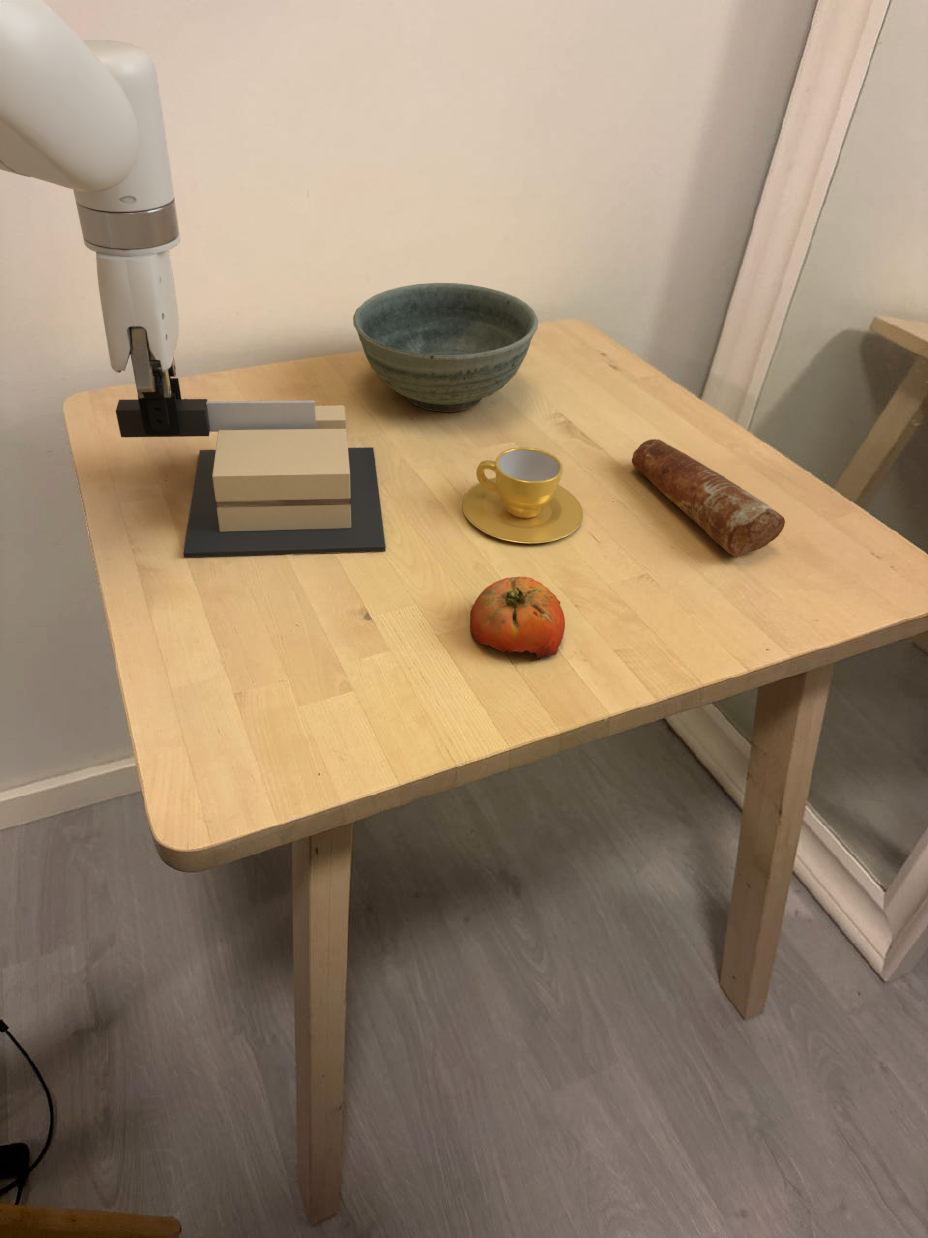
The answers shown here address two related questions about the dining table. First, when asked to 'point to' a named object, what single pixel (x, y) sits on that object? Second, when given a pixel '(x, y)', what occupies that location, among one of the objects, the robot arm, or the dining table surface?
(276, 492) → the cake
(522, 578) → the tomato
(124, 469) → the dining table surface
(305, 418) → the knife
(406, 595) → the dining table surface
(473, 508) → the cup
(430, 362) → the bowl
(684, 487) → the salami
